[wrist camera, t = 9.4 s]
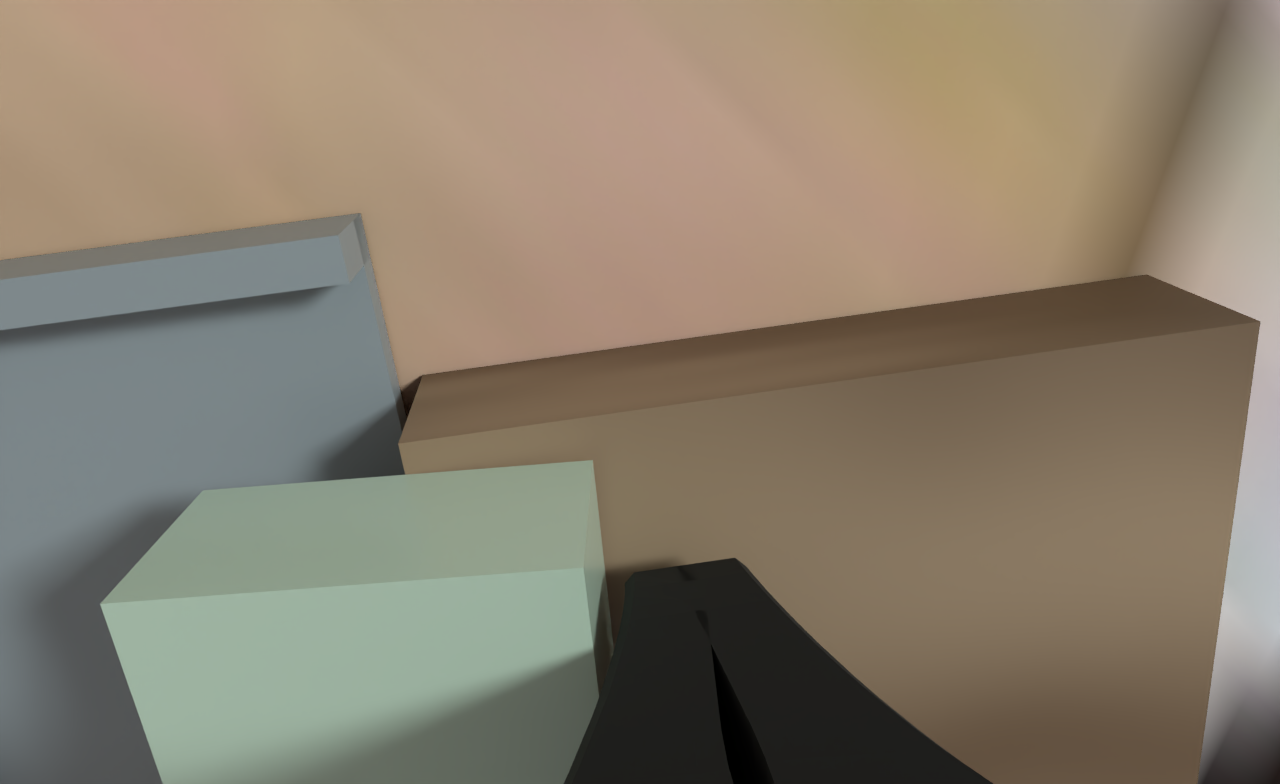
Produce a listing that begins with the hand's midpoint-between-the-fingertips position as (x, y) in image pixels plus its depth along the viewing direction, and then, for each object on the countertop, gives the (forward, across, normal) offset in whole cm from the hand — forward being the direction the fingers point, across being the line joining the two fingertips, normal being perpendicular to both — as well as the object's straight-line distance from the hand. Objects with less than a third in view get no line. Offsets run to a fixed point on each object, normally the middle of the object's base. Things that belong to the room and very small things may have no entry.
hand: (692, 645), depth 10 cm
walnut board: (+3, -2, +4) cm, 5 cm away
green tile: (+1, +3, 0) cm, 3 cm away
